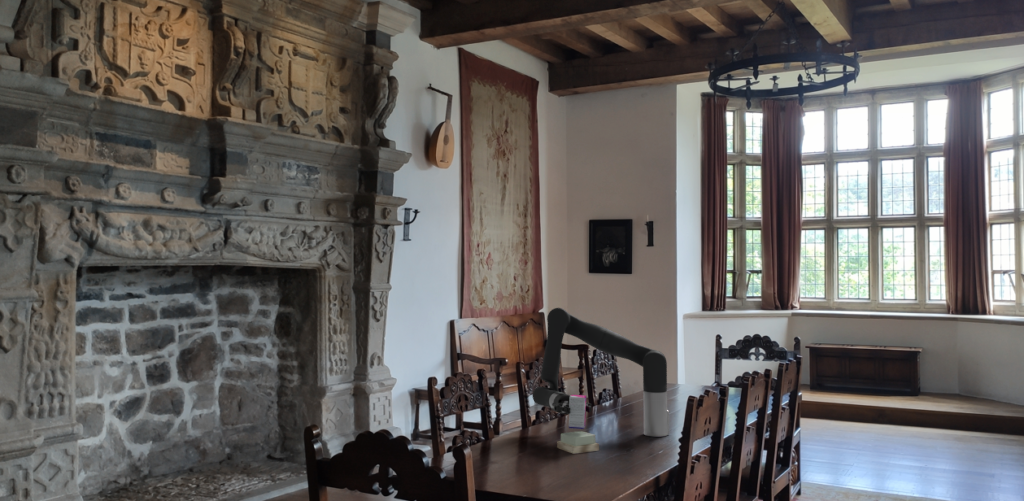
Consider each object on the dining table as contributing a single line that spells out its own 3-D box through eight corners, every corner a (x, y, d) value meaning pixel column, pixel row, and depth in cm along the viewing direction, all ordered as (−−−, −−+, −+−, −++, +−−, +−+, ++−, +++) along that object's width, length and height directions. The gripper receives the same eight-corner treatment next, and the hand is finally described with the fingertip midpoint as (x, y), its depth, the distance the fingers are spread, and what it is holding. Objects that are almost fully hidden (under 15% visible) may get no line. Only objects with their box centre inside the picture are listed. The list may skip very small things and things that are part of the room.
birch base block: (582, 446, 288) (582, 438, 289) (599, 452, 279) (599, 443, 279) (557, 449, 283) (557, 441, 283) (573, 455, 274) (573, 447, 274)
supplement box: (584, 429, 278) (584, 397, 278) (568, 428, 279) (568, 396, 280) (586, 426, 284) (586, 394, 284) (570, 425, 285) (570, 394, 285)
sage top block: (580, 438, 287) (580, 430, 287) (595, 443, 280) (595, 434, 280) (560, 441, 282) (560, 433, 283) (575, 446, 275) (575, 437, 275)
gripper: (544, 394, 293) (561, 400, 277) (578, 392, 298) (597, 398, 282) (544, 413, 293) (561, 421, 277) (578, 411, 297) (597, 419, 282)
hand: (579, 410), depth 280 cm, fingers closed on supplement box, 7 cm apart
